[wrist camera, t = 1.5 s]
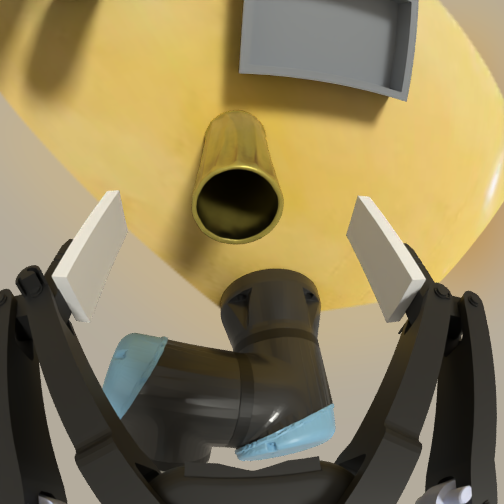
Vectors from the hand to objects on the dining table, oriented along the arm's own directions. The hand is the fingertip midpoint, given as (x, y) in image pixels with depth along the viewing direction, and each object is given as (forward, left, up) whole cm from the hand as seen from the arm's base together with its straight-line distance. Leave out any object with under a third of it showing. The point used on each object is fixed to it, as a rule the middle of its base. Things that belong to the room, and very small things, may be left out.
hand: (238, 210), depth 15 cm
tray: (+13, -8, -15) cm, 21 cm away
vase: (0, 0, -15) cm, 15 cm away
